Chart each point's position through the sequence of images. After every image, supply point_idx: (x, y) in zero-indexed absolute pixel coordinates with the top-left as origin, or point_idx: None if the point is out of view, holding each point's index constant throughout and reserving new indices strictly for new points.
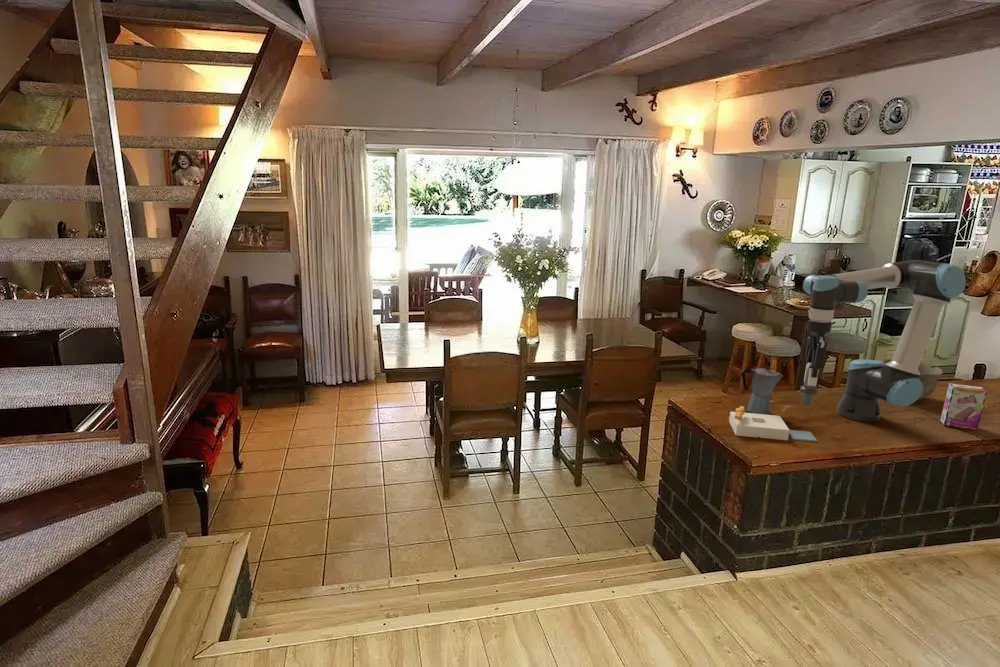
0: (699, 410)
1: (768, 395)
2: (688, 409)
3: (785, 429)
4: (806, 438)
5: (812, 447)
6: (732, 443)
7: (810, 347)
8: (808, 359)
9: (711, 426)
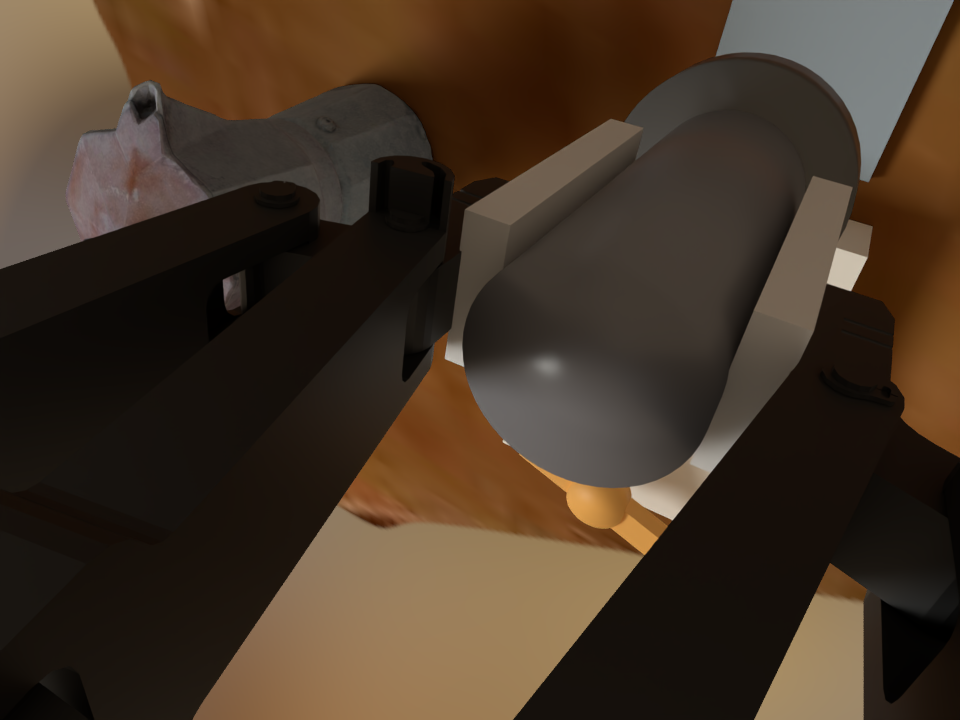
0: (404, 462)
1: (330, 174)
2: (400, 500)
3: (847, 282)
4: (894, 64)
5: None
6: (855, 585)
7: (188, 699)
8: (398, 402)
9: (606, 534)
